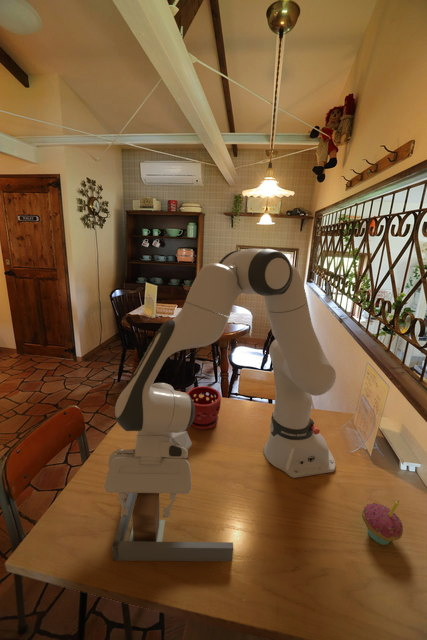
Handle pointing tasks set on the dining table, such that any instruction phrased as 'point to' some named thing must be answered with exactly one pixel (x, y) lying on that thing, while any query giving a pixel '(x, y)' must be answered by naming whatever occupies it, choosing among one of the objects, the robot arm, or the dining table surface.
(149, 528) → the walnut block
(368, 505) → the cupcake
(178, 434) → the die
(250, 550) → the dining table surface
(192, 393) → the plant pot
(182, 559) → the grey l-shaped bracket
